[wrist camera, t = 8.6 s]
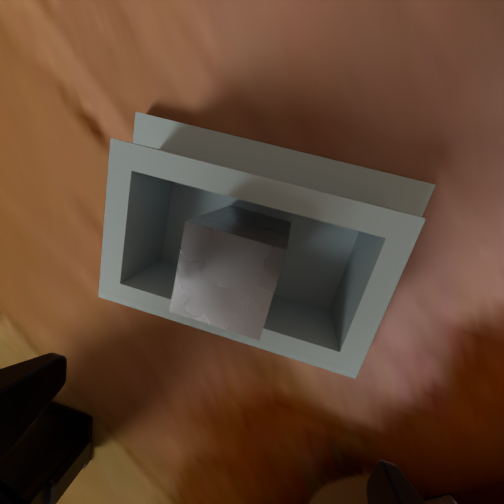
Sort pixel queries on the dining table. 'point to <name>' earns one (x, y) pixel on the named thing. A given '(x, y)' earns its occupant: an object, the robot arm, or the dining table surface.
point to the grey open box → (272, 204)
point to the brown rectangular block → (230, 268)
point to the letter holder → (441, 500)
